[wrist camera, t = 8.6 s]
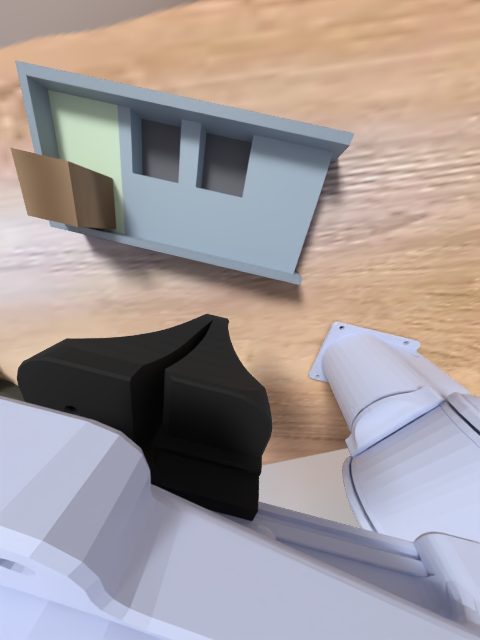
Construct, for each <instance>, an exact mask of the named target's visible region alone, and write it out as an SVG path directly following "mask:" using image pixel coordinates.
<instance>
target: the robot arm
mask: <svg viewBox="0 0 480 640" xmlns="http://www.w3.org/2000/svg"><path fill="white" fill-rule="evenodd" d="M228 323H229V320H228V319H227V318H223V317H218V316H214V315H210V314H205V315H203V316H200V317H198V318H196V319H193V320H191V321H188V322H186V323H183V324H180V325H178V326H175V327H172V328H168V329H165V330H161V331H157V332H152V333H146V334H140V335H134V336H125V337H113V338H84V339H65V340H63V341H61V342H59V343H57V344H55V345H53V346H52V347H50V348H48V349H46V350H44V351H42V352H40V353H38V354H36V355H34V356H33V357H31V358H29V359H27V360H25V361H23V362H22V364H21V365H20V366H19V368H18V374H17V381H18V385H19V389H20V391H21V393H22V396H23V398H24V400H25V402H23V401H19V400H15V399H11V398H7V397H3V396H0V640H480V397H478V396H475V395H472V394H471V393H470V392H469V391H468V390H467V389H466V388H464V387H463V386H462V385H461V384H459V383H458V382H457V381H455V380H454V379H453V378H451V377H450V376H449V375H447V374H446V373H445V372H443V371H442V370H441V369H439V368H438V367H437V366H435V365H434V364H433V363H431V362H430V361H429V360H427V359H426V358H425V357H423V356H422V355H421V354H419V353H418V352H417V349H418V348H419V347H420V342H418V341H417V340H413V339H409V338H405V337H401V336H396V335H392V334H388V333H384V332H380V331H375V330H371V329H367V328H363V327H359V326H354V325H350V324H346V323H342V322H334V323H333V324H332V325H331V327H330V329H329V331H328V333H327V336H326V338H325V340H324V342H323V344H322V346H321V348H320V350H319V352H318V355H317V357H316V359H315V361H314V363H313V365H312V367H311V369H310V371H309V377H310V378H312V379H316V380H320V381H324V382H328V383H329V385H330V387H331V389H332V391H333V394H334V396H335V398H336V400H337V403H338V405H339V407H340V410H341V412H342V414H343V416H344V419H345V421H346V423H347V425H348V428H349V430H350V432H351V435H350V436H349V437H348V438H347V439H346V440H345V442H346V444H347V447H348V449H349V452H350V454H351V456H350V457H348V458H347V459H346V460H345V461H344V463H343V469H342V474H343V482H344V487H345V490H346V494H347V498H348V501H349V504H350V507H351V509H352V512H353V514H354V516H355V518H356V520H357V522H358V524H359V526H360V527H361V528H357V527H353V526H350V525H346V524H342V523H338V522H334V521H331V520H327V519H323V518H319V517H315V516H311V515H308V514H304V513H300V512H296V511H292V510H289V509H285V508H281V507H277V506H273V505H269V504H266V503H262V502H258V499H259V476H260V474H261V468H262V455H263V453H264V450H265V448H266V446H267V444H268V441H269V439H270V437H271V432H272V418H271V411H270V406H269V401H268V397H267V393H266V390H265V388H264V387H263V386H262V385H261V384H260V383H259V382H258V381H257V380H256V379H255V378H254V377H253V376H252V375H251V374H250V373H249V372H248V371H247V370H246V368H245V367H244V366H243V364H242V363H241V361H240V360H239V358H238V356H237V355H236V353H235V350H234V348H233V346H232V343H231V340H230V336H229V331H228ZM340 326H343V328H341V329H339V327H340ZM404 342H406V343H404ZM403 343H404V344H403ZM316 375H318V376H316Z"/></svg>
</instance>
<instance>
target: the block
mask: <svg viewBox="0 0 480 640" xmlns="http://www.w3.org/2000/svg"><path fill="white" fill-rule="evenodd" d="M11 151H12V155H13V159H14V163H15V167H16V170H17V174H18V178H19V182H20V186H21V190H22V194H23V198H24V202H25V206H26V210H27V214H28V215H29V216H33V217H37V218H42V219H46V220H50V221H54V222H59V223H63V224H67V225H71V226H76V227H87V228H106V229H116V217H115V203H114V190H113V178H111V177H108V176H106V175H103V174H100V173H98V172H95V171H93V170H90V169H87V168H85V167H82V166H80V165H77V164H74V163H72V162H69V161H66V160H61V159H57V158H53V157H48V156H44V155H39V154H35V153H31V152H26V151H22V150H17V149H13V148H11Z"/></svg>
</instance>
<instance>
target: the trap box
mask: <svg viewBox="0 0 480 640" xmlns="http://www.w3.org/2000/svg"><path fill="white" fill-rule="evenodd" d="M15 62H16V67H17V71H18V76H19V81H20V85H21V90H22V95H23V100H24V104H25V109H26V114H27V118H28V123H29V128H30V132H31V137H32V142H33V146H34V151H35V154H39V155H44V156H48V157H53V158H57V159H61V160H66V161H69V162H72V163H74V164H77V165H80V166H82V167H85V168H87V169H90V170H93V171H95V172H98V173H100V174H103V175H106V176H108V177H111V178H113V190H114V203H115V217H116V229H106V228H87V227H76V226H71V225H67V224H63V223H59V222H54V221H50V220H49V222H50V226H51V227H55V228H59V229H64V230H68V231H72V232H76V233H81V234H85V235H89V236H93V237H98V238H102V239H106V240H110V241H115V242H119V243H123V244H127V245H132V246H136V247H140V248H145V249H149V250H153V251H157V252H162V253H166V254H170V255H174V256H179V257H183V258H187V259H191V260H196V261H200V262H204V263H208V264H213V265H217V266H221V267H225V268H230V269H234V270H238V271H242V272H247V273H251V274H255V275H259V276H264V277H268V278H272V279H276V280H281V281H285V282H289V283H294V284H298V285H300V284H301V281H302V277H301V276H300V275H299V274H298V273H297V272H294V271H295V268H296V265H297V262H298V259H299V256H300V253H301V250H302V246H303V243H304V240H305V237H306V234H307V231H308V228H309V225H310V222H311V219H312V216H313V213H314V210H315V207H316V204H317V201H318V198H319V195H320V192H321V189H322V186H323V183H324V180H325V177H326V174H327V171H328V168H329V165H330V162H331V161H333V162H335V160H336V159H337V158H338V157H339V156H340V155H341V154H342V153H343V152H344V151H345V150H346V149H347V148H348V147H349V146H350V143H351V140H352V138H353V135H354V133H350V132H346V131H341V130H336V129H332V128H327V127H322V126H318V125H313V124H308V123H304V122H299V121H294V120H290V119H285V118H280V117H276V116H271V115H266V114H262V113H257V112H252V111H248V110H243V109H239V108H234V107H229V106H225V105H220V104H215V103H211V102H206V101H201V100H197V99H192V98H187V97H183V96H178V95H173V94H169V93H164V92H159V91H155V90H150V89H145V88H141V87H136V86H131V85H127V84H122V83H117V82H113V81H108V80H103V79H99V78H94V77H90V76H85V75H80V74H76V73H71V72H66V71H62V70H57V69H52V68H48V67H43V66H38V65H34V64H29V63H24V62H20V61H15Z"/></svg>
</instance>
